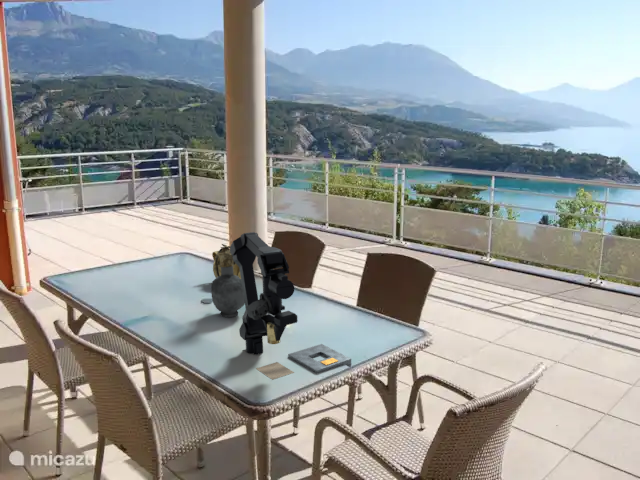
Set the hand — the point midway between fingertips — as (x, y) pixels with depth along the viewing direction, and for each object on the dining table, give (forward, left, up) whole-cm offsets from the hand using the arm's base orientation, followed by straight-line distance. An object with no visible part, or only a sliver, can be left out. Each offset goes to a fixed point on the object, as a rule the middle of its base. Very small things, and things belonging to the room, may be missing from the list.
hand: (273, 338), depth 169 cm
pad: (0, 0, -12) cm, 12 cm away
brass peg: (0, 0, -1) cm, 1 cm away
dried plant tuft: (-102, +38, -12) cm, 110 cm away
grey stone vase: (-61, +15, -12) cm, 64 cm away
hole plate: (+2, +16, -12) cm, 20 cm away
